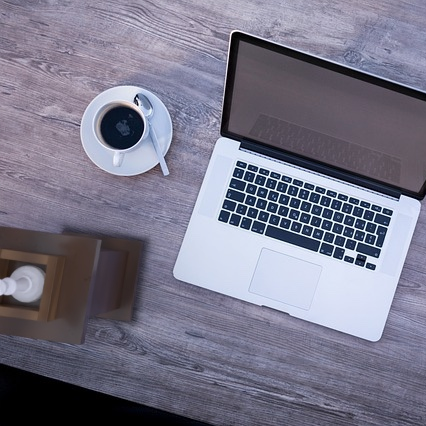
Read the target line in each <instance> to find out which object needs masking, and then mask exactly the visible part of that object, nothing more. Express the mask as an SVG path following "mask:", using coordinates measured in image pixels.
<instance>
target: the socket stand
mask: <svg viewBox="0 0 426 426" xmlns="http://www.w3.org/2000/svg"><path fill="white" fill-rule="evenodd" d="M101 241H102V240H99V239H92V238H84V237H77V236H70V235H63V234H62V233H55V232H48V231H43V230H42V231H40V230H33V229H26V228H19V227H14V226H13V227H12V226H5V225H0V279H1V280H2V279H4V278H10V276H11V275H12V273H13V272H14V271H15V270H16V269H18V268H20V267H22V266H25V265H34V266H37V267H39V268H41V269H42V270H43V271H44V272H45V279H44V285H43V291H42V297H41V298H40V299H39V300H37V301H35V302H30V303H26V302H21V301H18V300H17V299H15V298H14V297H13V296H12V295H4V294H2V295H0V335H3V336H11V337H18V338H26V339H34V340H40V341H48V342H54V343H61V344H70V345H75V346H82V345H84V344H85V342H86V337H87V330H88V324H89V319H90V318H89V313H90V307H91V301H92V295H93V289H94V283H95V277H96V271H97V265H98V259H99V253H100V247H101Z"/></svg>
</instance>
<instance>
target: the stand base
mask: <svg viewBox="0 0 426 426" xmlns="http://www.w3.org/2000/svg"><path fill="white" fill-rule="evenodd" d="M61 234H63V235H70V236H77V237H84V238H92V239H99V240H102V241H101V247H100V253H99V259H98V265H97V271H96V277H95V283H94V289H93V295H92V301H91V307H90V313H89V319H90V318H99V319H106V320H107V319H108V320H113V321H114V320H115V321H122V322H127V323H129V322H132V321H133V316H134V315H133V314H134V309H135V302H136V298H137V291H138V284H139V279H140V273H141V267H142V266H141V265H142V260H143V253H144V247H145V241H141V240H132V239H127V238H119V237H112V236H105V235H98V234H97V235H96V234H91V233H85V232H84V233H82V232H77V231H68V230H62V233H61Z"/></svg>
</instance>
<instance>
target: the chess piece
mask: <svg viewBox="0 0 426 426" xmlns="http://www.w3.org/2000/svg"><path fill="white" fill-rule="evenodd" d="M44 279H45V272H44V271H43V270H42V269H41V268H39V267H37V266H34V265H25V266H22V267H20V268H18V269H16V270H15V271H14V272H13V273H12V275H11V276H10V278H4V279H2V280H1V279H0V295H2V294H4V295H12V296H13V297H14V298H15V299H17V300H18V301H21V302H26V303H30V302H35V301H37V300H39V299H40V298H41V297H42V291H43V285H44Z"/></svg>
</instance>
